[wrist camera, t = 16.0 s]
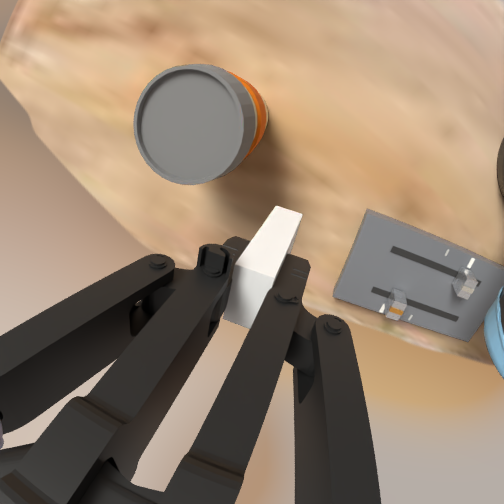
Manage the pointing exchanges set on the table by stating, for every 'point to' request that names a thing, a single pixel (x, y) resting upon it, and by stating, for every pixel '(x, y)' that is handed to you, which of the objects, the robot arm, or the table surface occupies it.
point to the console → (417, 276)
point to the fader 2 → (464, 283)
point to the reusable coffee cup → (198, 123)
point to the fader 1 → (395, 304)
